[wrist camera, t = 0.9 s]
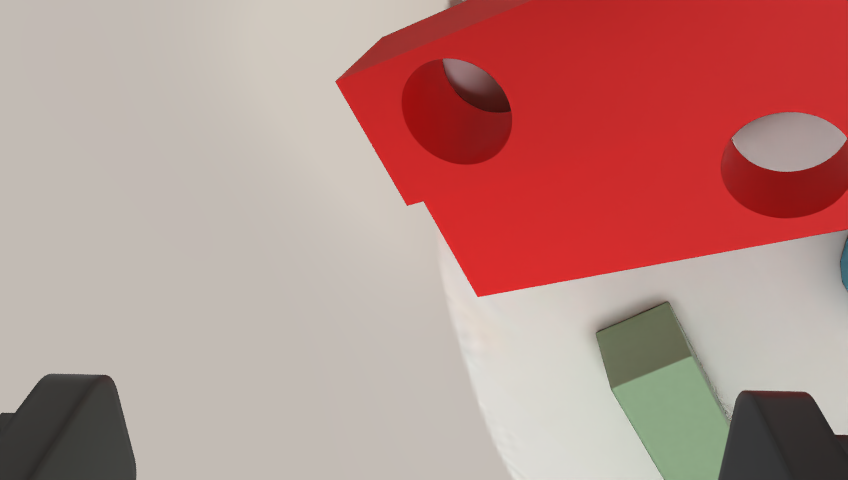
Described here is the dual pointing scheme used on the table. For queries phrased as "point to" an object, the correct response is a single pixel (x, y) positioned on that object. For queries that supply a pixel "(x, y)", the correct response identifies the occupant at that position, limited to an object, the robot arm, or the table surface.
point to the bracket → (606, 130)
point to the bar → (666, 394)
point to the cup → (845, 265)
